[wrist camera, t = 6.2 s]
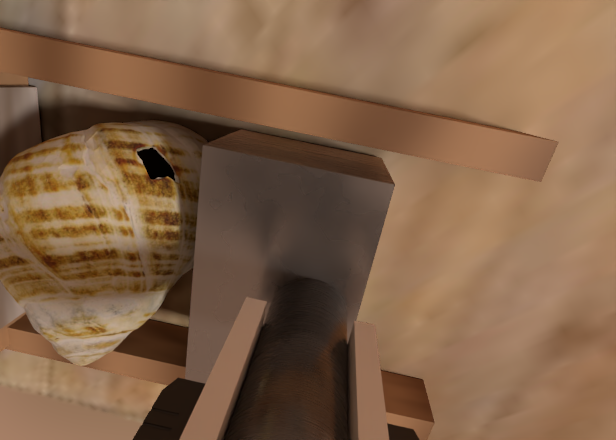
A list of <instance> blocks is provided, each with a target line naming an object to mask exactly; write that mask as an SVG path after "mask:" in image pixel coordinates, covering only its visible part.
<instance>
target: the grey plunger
mask: <svg viewBox="0 0 616 440" xmlns="http://www.w3.org/2000/svg"><path fill="white" fill-rule="evenodd" d="M394 186H395V184H394V182H393V180H392V178H391V176H390V174H389V172H388V170H387V168H386V166H385V164H384V162H383V160H382V158H379V157H374V156H369V155H364V154H359V153H355V152H350V151H345V150H340V149H335V148H330V147H325V146H320V145H315V144H311V143H306V142H301V141H296V140H291V139H286V138H281V137H276V136H272V135H267V134H262V133H257V132H252V131H247V130H242V129H240V130H238V131H235V132H233V133H231V134H228V135H226V136H223V137H221V138H218V139H216V140H214V141H211V142H209V143H206V144H204V145H203V148H202V161H201V174H200V187H199V200H198V213H197V227H196V240H195V253H194V266H193V279H192V292H191V306H190V319H189V332H188V345H187V358H186V371H185V379H187V380H191V381H196V382H200V383H205V384H206V382H207V380H208V378H209V376H210V373H211V371H212V369H213V367H214V365H215V363H216V361H217V359H218V356H219V354H220V352H221V350H222V348H223V346H224V344H225V341H226V339H227V337H228V335H229V333H230V331H231V329H232V327H233V324H234V322H235V320H236V318H237V316H238V314H239V312H240V310H241V307H242V305H243V303H244V301H245V299H246V297H249V298H253V299H258V300H263V301H267V304H266V310H265V316H264V322H263V327H262V330H261V333H260V336H259V339H258V342H257V345H256V348H255V350H254V353H253V356H252V359H251V362H250V365H249V368H248V371H247V374H246V377H245V380H244V382H243V385H242V388H241V391H240V394H239V397H238V400H237V403H236V406H235V409H234V412H233V414H232V417H231V420H230V423H229V426H228V429H227V432H226V435H225V438H224V440H348V371H347V344H348V341H349V337H350V334H351V330H352V327H353V323H354V320H355V321H356V319H357V316H358V312H359V309H360V305H361V302H362V298H363V295H364V291H365V288H366V284H367V281H368V277H369V274H370V270H371V267H372V263H373V260H374V256H375V253H376V249H377V246H378V242H379V239H380V235H381V232H382V228H383V225H384V221H385V218H386V214H387V211H388V207H389V204H390V200H391V197H392V193H393V190H394Z"/></svg>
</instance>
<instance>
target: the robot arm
mask: <svg viewBox="0 0 616 440" xmlns="http://www.w3.org/2000/svg"><path fill="white" fill-rule="evenodd" d="M266 304H267V301H263V300H258V299H253V298H249V297H246V299H245V301H244V303H243V305H242V307H241V310H240V312H239V314H238V316H237V318H236V320H235V322H234V324H233V327H232V329H231V331H230V333H229V335H228V337H227V339H226V341H225V344H224V346H223V348H222V350H221V352H220V354H219V356H218V359H217V361H216V363H215V365H214V367H213V369H212V371H211V373H210V376H209V378H208V380H207V382H206V384H205V383H200V382H196V381H191V380H187V379H182V378H177V379H176V380H174V381H173V382H172V383H171V384H169V385H168V386H167V387H166V388H165V389H163V390H162V392H161V393H160V395H159V397H158V398H157V400H156V402H155V403H154V405H153V407H152V409H151V411H150V412H149V413H148V415H147V417H146V418H145V420H144V422H143V425H142V426H140V428H139V430H138V431H137V433H136V435H135V436H134V438H133V440H224V438H225V435H226V432H227V429H228V426H229V423H230V420H231V417H232V414H233V412H234V409H235V406H236V403H237V400H238V397H239V394H240V391H241V388H242V385H243V382H244V380H245V377H246V374H247V371H248V368H249V365H250V362H251V359H252V356H253V353H254V350H255V348H256V345H257V342H258V339H259V336H260V333H261V330H262V327H263V322H264V316H265V310H266ZM347 371H348V440H420V439H419V438H418V436H417V434H416V433H415V431H414V429H410V428H406V427H401V426H397V425H393V424H388V423H387V418H386V410H385V401H384V393H383V385H382V377H381V369H380V361H379V353H378V344H377V336H376V328H375V325H373V324H369V323H364V322H359V321H355V320H354V323H353V327H352V330H351V334H350V337H349V341H348V344H347Z"/></svg>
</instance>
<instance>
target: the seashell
mask: <svg viewBox="0 0 616 440" xmlns="http://www.w3.org/2000/svg"><path fill="white" fill-rule="evenodd" d="M206 143H209V142H207V141H206V140H205V139H204V138H203V137H202V136H200V135H198V134H197V133H195V132H193V131H192V130H190V129H188V128H185V127H183V126H181V125H178V124H176V123H172V122H167V121H160V120H145V121H138V122H126V123H118V122H110V123H100V124H95V125H93V126H92V127H90V128H89V129H87V130H82V131H77V132H70V133H67V134H64V135H61V136H58V137H55V138H52V139H49V140H47V141H44V142H42V143H40V144H37V145H35V146H33V147H31V148H29V149H26V150H24V151H22V152H20V153H18V154H17V155H16V156H15V157H13V158H12V159H11V160H10V161H9V163H8V164H7V165H6V167H5V169H4V171H3V173H2V175H1V177H0V280H1V282H2V284H3V285H4V287H5V288H6V290H7V291H8V292H9V293H10V295H11V296H12V297H13V298H14V299H15V301H16V302H17V303H18V304H19V305H20V306H21V307H23V308H24V310H25V312H26V315H27V317H28V319H29V321H30V322H31V324H32V326H33V328H34V330H36V331H37V332H38V333H40V334H41V335H42V336H43V337H44V338H45V339H47V340H48V341H49V342H51V344H52V346H53V348H54V349H55V350H56V352H57V353H58V354H59V355H61V356H62V357H64V358H66V359H67V360H69V361H70V362H72V363H73V364H76V365H79V366H84V365H87V364H90V363H92V362H94V361H96V360H98V359H100V358H101V357H103V356H104V355H106V354H107V353H110V352H112V351H113V350H114V349H115V348H116V347H117V346H118V345H119V344H120V343H121V342H122V341H123V340H124V339H125V338H126V337H127V336H128V335H129V334H130V333H131V332H132V331H134V330H135V329H138V328H139V327H140V326H142V325H143V324H144V323H145V322H146V321H147V320H148V319H149V318H150V317H152V316H153V315H154V314H155V313H156V311H157V310H158V309H159V307H160V306H161V304H162V303H163V301H164V299H165V297H166V295H167V293H168V291H169V290H170V289H171V288H172V287H173V286H174V284H175V283H176V282H177V281H178V279H179V278H180V277H181V276H182V275H183V274H185V273H186V272H188V271H189V270H191V269H192V268H193V266H194V253H195V240H196V227H197V213H198V200H199V187H200V174H201V161H202V148H203V145H204V144H206ZM149 148H154V149H155V150H156V151H157V152H158V153H159V154H160V155H161V156H162V157H163V158H164V159H165V160H166V161H167V162H168V163H169V164H170V166H171V167H172V169H173V171H174V173H175V175H174V178H175V181H174V180H173V179H171V178H169V177H168V176H167V177H164V178H160V177H158V178H156V179H153V180H152V179H150V178H149V175H148V173H147V171H146V169H145V167H144V165H143V161H142V160H141V159H140V157H139V156H138V155H137V151H141V150H142V149H149Z"/></svg>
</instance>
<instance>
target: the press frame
mask: <svg viewBox="0 0 616 440" xmlns="http://www.w3.org/2000/svg"><path fill="white" fill-rule="evenodd" d="M28 77H30V78H35V79H40V80H44V81H49V82H54V83H59V84H64V85H69V86H74V87H79V88H84V89H88V90H93V91H98V92H103V93H108V94H113V95H118V96H123V97H128V98H133V99H137V100H142V101H147V102H152V103H157V104H162V105H167V106H172V107H177V108H181V109H186V110H191V111H196V112H201V113H206V114H211V115H216V116H221V117H226V118H230V119H235V120H240V121H245V122H250V123H255V124H260V125H265V126H270V127H274V128H279V129H284V130H289V131H294V132H299V133H304V134H309V135H314V136H318V137H323V138H328V139H333V140H338V141H343V142H348V143H353V144H358V145H363V146H367V147H372V148H377V149H382V150H387V151H392V152H397V153H402V154H407V155H411V156H416V157H421V158H426V159H431V160H436V161H441V162H446V163H451V164H456V165H460V166H465V167H470V168H475V169H480V170H485V171H490V172H495V173H500V174H504V175H509V176H514V177H519V178H524V179H529V180H534V181H539V182H541V181H542V179H543V176H544V174H545V172H546V170H547V167H548V165H549V163H550V161H551V158H552V156H553V154H554V152H555V149H556V147H557V145H558V142H556V141H553V140H549V139H545V138H541V137H537V136H534V135H530V134H526V133H522V132H517V131H512V130H507V129H502V128H497V127H492V126H487V125H482V124H477V123H472V122H467V121H463V120H458V119H453V118H448V117H443V116H438V115H433V114H428V113H423V112H418V111H413V110H408V109H403V108H398V107H393V106H388V105H383V104H378V103H373V102H368V101H363V100H358V99H353V98H348V97H343V96H338V95H333V94H328V93H323V92H318V91H313V90H308V89H303V88H298V87H293V86H288V85H283V84H278V83H273V82H269V81H264V80H259V79H254V78H249V77H244V76H239V75H234V74H229V73H224V72H219V71H214V70H209V69H204V68H199V67H194V66H189V65H184V64H179V63H174V62H169V61H164V60H159V59H154V58H149V57H144V56H139V55H134V54H129V53H124V52H119V51H114V50H109V49H104V48H99V47H94V46H89V45H84V44H79V43H75V42H70V41H65V40H60V39H55V38H50V37H45V36H40V35H35V34H30V33H25V32H20V31H15V30H10V29H5V28H0V177H1V175H2V173H3V171H4V169H5V167H6V165H7V164H8V163H9V161H10V160H11V159H12V158H13V157H15V156H16V155H17V154H18V153H20V152H22V151H24V150H26V149H29V148H31V147H33V146H35V145H37V144H40V143H42V139H41V128H40V117H39V106H38V95H37V87H33V86H29V84H28ZM188 332H189V328H185V327H181V326H176V325H172V324H167V323H163V322H158V321H154V320H149V319H148V320H147V321H146V322H145V323H144V324H143V325H142V326H140V327H139V328H138V329H135V330H134V331H132V332H131V333H130V334H129V335H128V336H127V337H126V338H125V339H124V340H123V341H122V342H121V343H120V344H119V345H118V346H117V347H116V348H115V349H114V350H113V351H112V352H110V353H107V354H106V355H104V356H103V357H101V358H100V359H98V360H96V361H94V362H92V363H90V364H87V365H84V367H89V368H93V369H98V370H102V371H107V372H111V373H116V374H120V375H124V376H129V377H133V378H138V379H142V380H147V381H151V382H155V383H160V384H164V385H169V384H171V383H172V382H173V381H174V380H176V379H177V378H182V379H185V371H186V358H187V345H188ZM4 349H9V350H13V351H18V352H22V353H27V354H31V355H36V356H40V357H44V358H49V359H53V360H58V361H62V362H67V363H71V364H73V363H72V362H70V361H69V360H67V359H66V358H64V357H62V356H61V355H59V354H58V353H57V352H56V350H55V349H54V348H53V346H52V344H51V342H49V341H48V340H47V339H45V338H44V337H43V336H42V335H41V334H40V333H38V332H37V331H36V330H34V328H33V326H32V324H31V322H30V321H29V319H28V317H27V315H26V312H25V310H24V308H23V307H21V306H20V305H19V304H18V303H17V302H16V301H15V299H14V298H13V297H12V296H11V295H10V293H9V292H8V291H7V290H6V288H5V287H4V285H3V284H2V282H1V280H0V352H1V351H2V350H4ZM381 377H382V385H383V393H384V401H385V410H386V418H387V423H388V424H393V425H397V426H401V427H406V428H410V429H414V431H415V433H416V434H417V436H418V438H419V439H420V440H427V439H428V436H429V434H430V432H431V430H432V427H433V425H434V419H433V415H432V412H431V408H430V404H429V400H428V396H427V393H426V389H425V385H424V381H423V380H421V379H417V378H412V377H408V376H403V375H399V374H394V373H389V372H385V371H381Z"/></svg>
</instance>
